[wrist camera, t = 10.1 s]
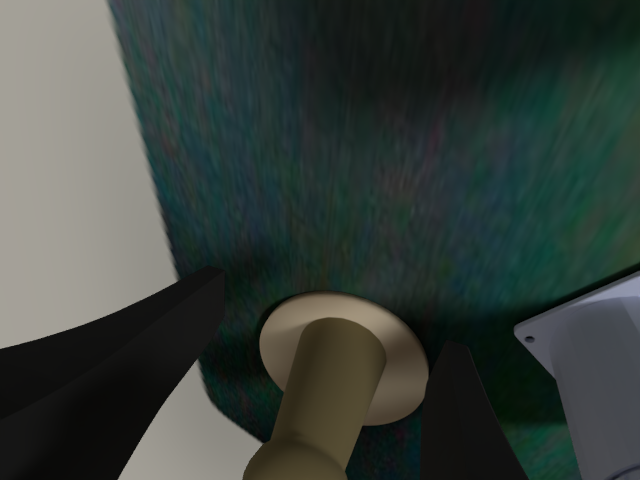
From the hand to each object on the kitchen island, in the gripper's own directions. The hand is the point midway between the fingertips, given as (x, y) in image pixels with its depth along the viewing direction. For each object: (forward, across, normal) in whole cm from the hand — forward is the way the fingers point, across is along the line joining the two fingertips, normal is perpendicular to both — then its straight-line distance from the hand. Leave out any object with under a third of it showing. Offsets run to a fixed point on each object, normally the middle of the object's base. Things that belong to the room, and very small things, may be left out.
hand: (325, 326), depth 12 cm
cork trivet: (+10, 0, +13) cm, 17 cm away
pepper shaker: (+10, 0, +12) cm, 15 cm away
